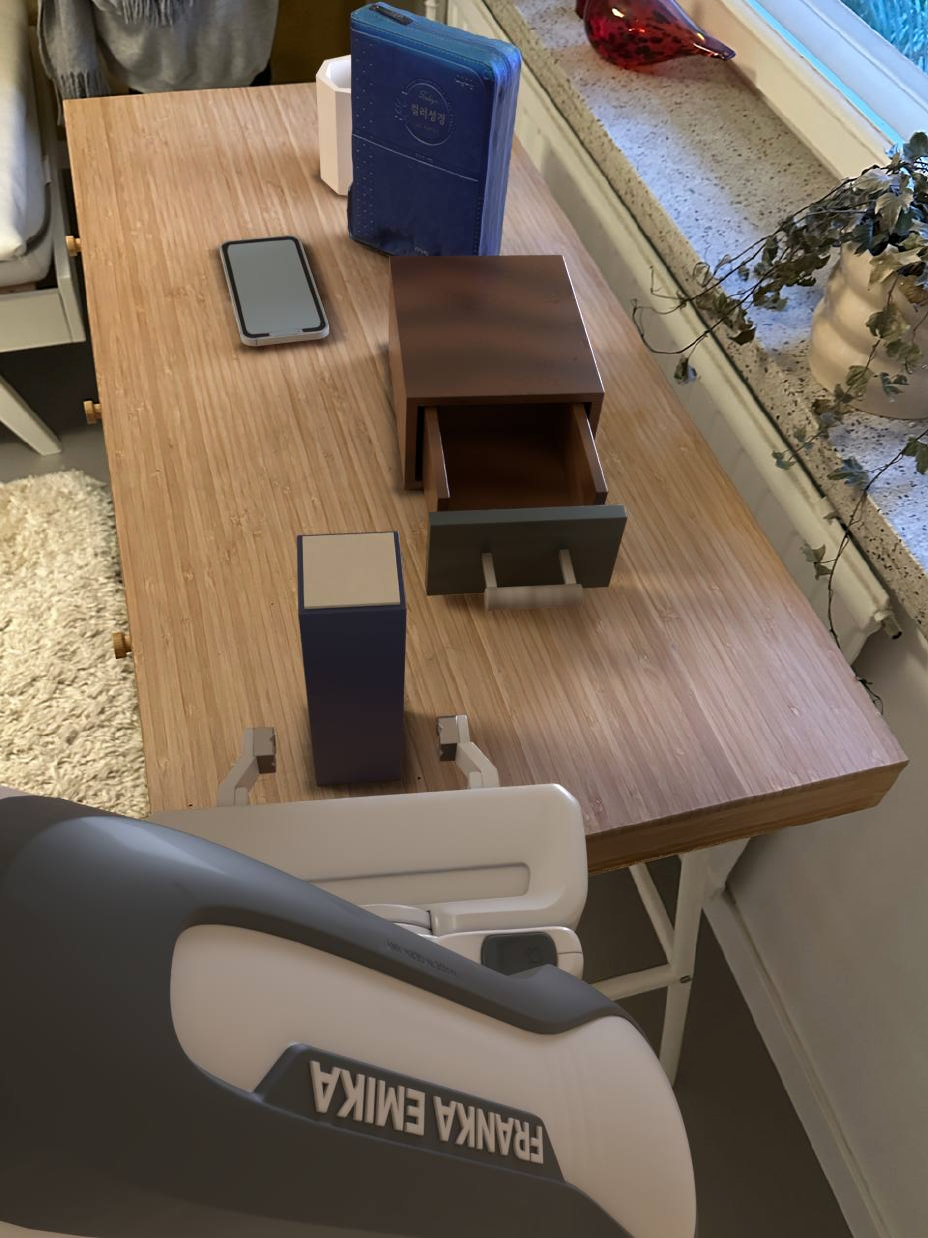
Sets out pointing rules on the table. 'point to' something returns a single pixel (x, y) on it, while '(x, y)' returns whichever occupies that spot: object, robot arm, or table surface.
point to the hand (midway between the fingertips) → (356, 727)
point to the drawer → (515, 504)
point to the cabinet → (484, 339)
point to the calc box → (353, 653)
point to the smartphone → (272, 290)
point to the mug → (335, 123)
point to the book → (429, 135)
